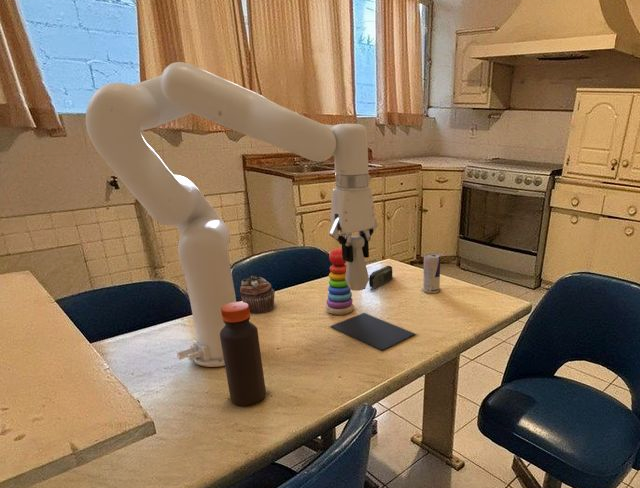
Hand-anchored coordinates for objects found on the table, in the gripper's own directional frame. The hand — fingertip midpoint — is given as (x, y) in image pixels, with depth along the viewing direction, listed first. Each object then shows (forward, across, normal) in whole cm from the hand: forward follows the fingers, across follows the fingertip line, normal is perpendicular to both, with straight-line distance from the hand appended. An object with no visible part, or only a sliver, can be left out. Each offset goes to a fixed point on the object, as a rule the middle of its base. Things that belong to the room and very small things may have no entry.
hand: (355, 258), depth 110 cm
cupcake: (+21, +8, -36) cm, 43 cm away
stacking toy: (+22, -7, -17) cm, 28 cm away
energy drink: (+22, -38, -8) cm, 45 cm away
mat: (+21, -5, 0) cm, 22 cm away
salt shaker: (+8, 0, 0) cm, 8 cm away
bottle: (+21, +33, +4) cm, 40 cm away
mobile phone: (+22, -31, -25) cm, 46 cm away
